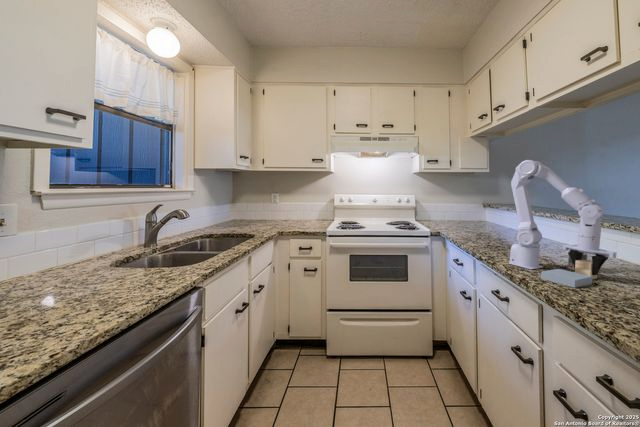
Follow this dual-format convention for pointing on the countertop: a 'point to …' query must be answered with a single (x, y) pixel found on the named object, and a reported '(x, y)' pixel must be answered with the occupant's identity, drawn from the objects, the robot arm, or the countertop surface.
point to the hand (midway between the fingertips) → (585, 272)
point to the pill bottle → (570, 263)
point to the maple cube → (584, 267)
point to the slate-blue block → (566, 277)
